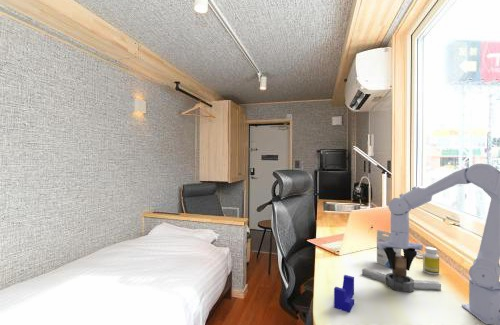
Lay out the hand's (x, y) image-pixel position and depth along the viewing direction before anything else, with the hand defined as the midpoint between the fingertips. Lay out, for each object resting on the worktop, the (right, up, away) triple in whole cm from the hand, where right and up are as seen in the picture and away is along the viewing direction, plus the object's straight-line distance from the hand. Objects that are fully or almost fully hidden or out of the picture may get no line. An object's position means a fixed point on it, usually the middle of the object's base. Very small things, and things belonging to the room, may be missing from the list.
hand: (399, 269), depth 91 cm
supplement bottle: (+21, -7, +13) cm, 25 cm away
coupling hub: (0, -2, 0) cm, 2 cm away
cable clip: (-23, -6, -11) cm, 26 cm away
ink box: (+7, -7, +20) cm, 23 cm away
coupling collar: (+2, -6, +3) cm, 7 cm away
